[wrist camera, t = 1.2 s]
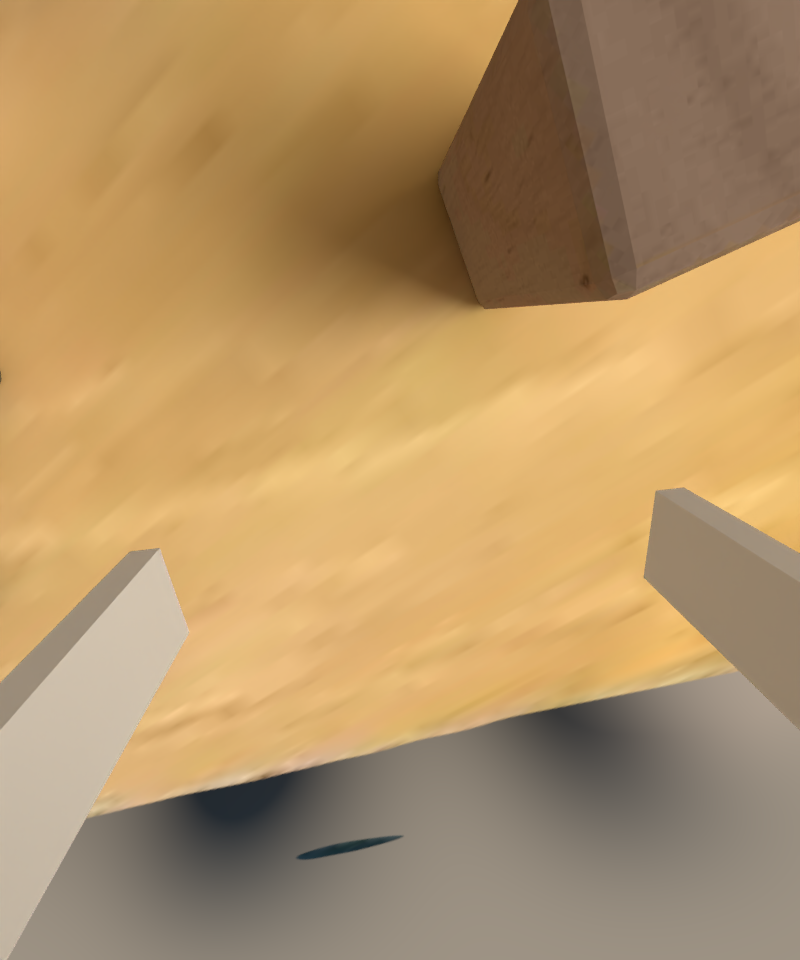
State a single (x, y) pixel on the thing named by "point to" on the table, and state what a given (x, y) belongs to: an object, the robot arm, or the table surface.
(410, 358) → the table surface
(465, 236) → the wooden block
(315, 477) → the table surface
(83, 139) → the table surface
